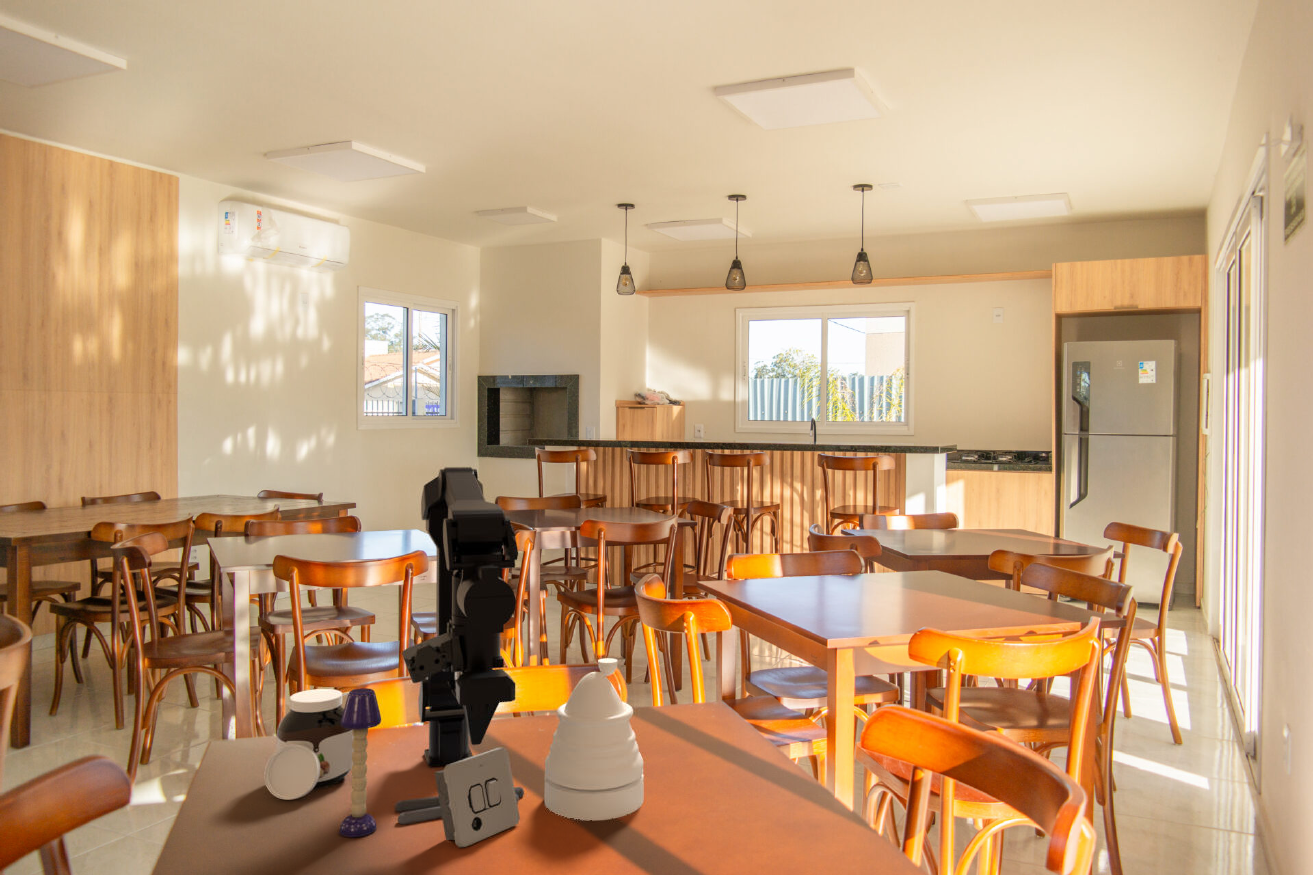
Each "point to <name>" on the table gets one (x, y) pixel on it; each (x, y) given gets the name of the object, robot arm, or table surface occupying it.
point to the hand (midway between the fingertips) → (475, 743)
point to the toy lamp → (359, 758)
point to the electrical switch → (477, 797)
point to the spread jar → (310, 745)
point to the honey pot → (594, 753)
